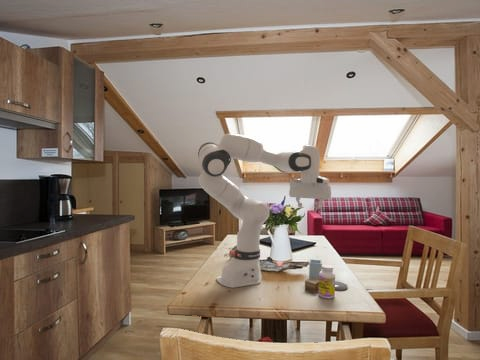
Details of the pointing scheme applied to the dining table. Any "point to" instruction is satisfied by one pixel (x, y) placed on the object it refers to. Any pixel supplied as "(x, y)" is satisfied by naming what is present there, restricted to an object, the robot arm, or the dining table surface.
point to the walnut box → (312, 285)
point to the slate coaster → (340, 286)
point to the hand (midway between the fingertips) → (309, 207)
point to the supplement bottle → (327, 282)
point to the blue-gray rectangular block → (315, 268)
